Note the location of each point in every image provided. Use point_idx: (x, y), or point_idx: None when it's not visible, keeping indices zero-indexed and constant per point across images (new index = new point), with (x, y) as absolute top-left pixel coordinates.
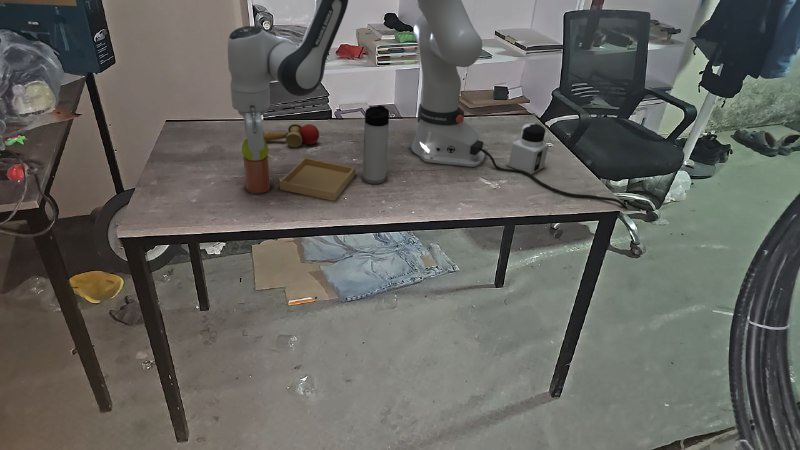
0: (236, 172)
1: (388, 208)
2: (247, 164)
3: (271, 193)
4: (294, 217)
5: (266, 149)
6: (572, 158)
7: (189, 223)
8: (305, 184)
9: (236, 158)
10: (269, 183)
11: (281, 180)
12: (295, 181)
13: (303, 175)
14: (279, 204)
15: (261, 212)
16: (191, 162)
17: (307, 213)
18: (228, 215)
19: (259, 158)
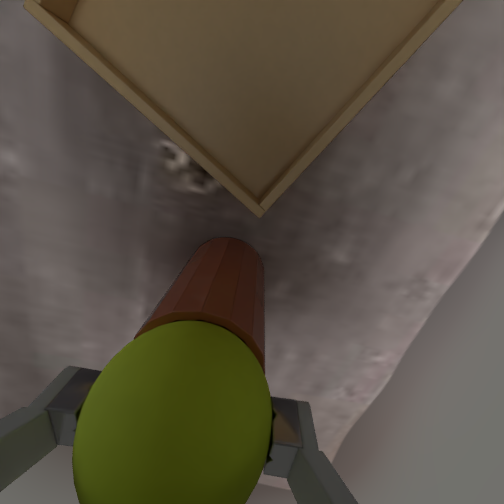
0: (113, 305)
1: None
2: None
3: (276, 243)
4: (466, 215)
5: (236, 381)
6: None
7: (340, 427)
8: (270, 97)
9: (14, 286)
10: (241, 247)
11: (255, 208)
12: (230, 135)
13: (183, 78)
14: (358, 238)
15: (376, 297)
16: (48, 384)
17: (473, 162)
18: (347, 366)
19: (308, 407)
